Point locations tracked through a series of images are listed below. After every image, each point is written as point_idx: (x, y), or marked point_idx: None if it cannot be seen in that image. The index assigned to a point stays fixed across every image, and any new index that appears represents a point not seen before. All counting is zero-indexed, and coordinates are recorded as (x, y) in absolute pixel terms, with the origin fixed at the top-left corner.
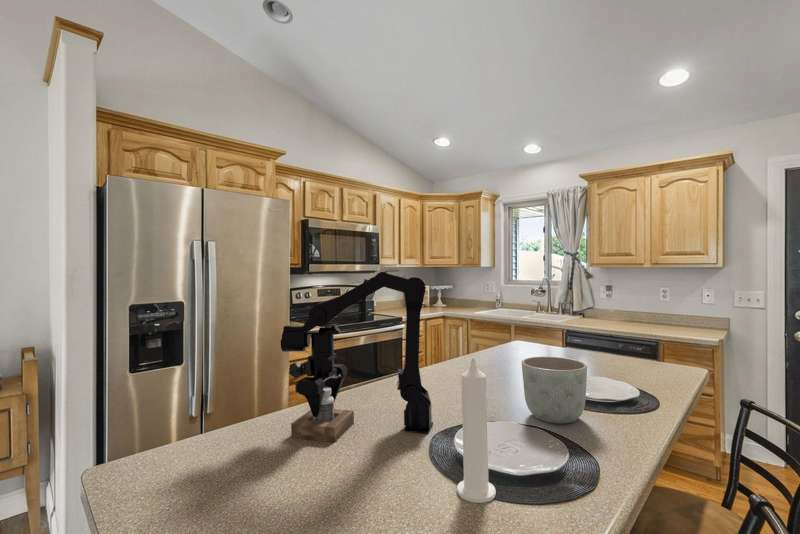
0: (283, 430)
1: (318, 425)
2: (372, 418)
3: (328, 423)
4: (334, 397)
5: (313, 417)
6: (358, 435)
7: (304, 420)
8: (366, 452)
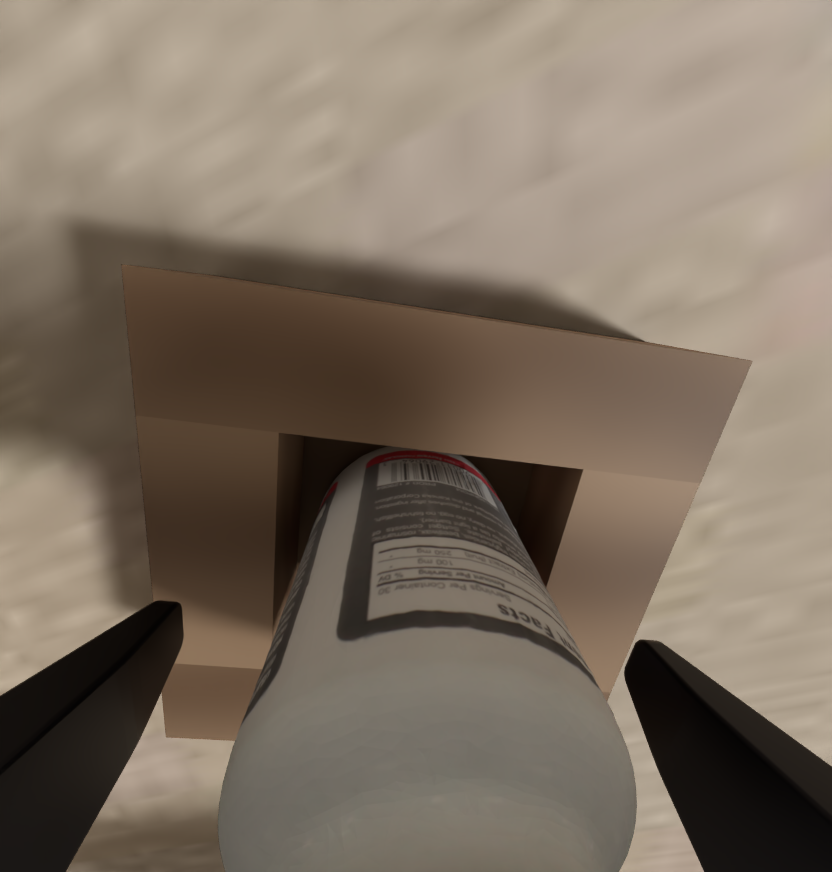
0: (368, 91)
1: None
2: (625, 728)
3: (245, 667)
4: (681, 806)
5: (366, 490)
6: None
7: (270, 409)
8: (144, 793)
